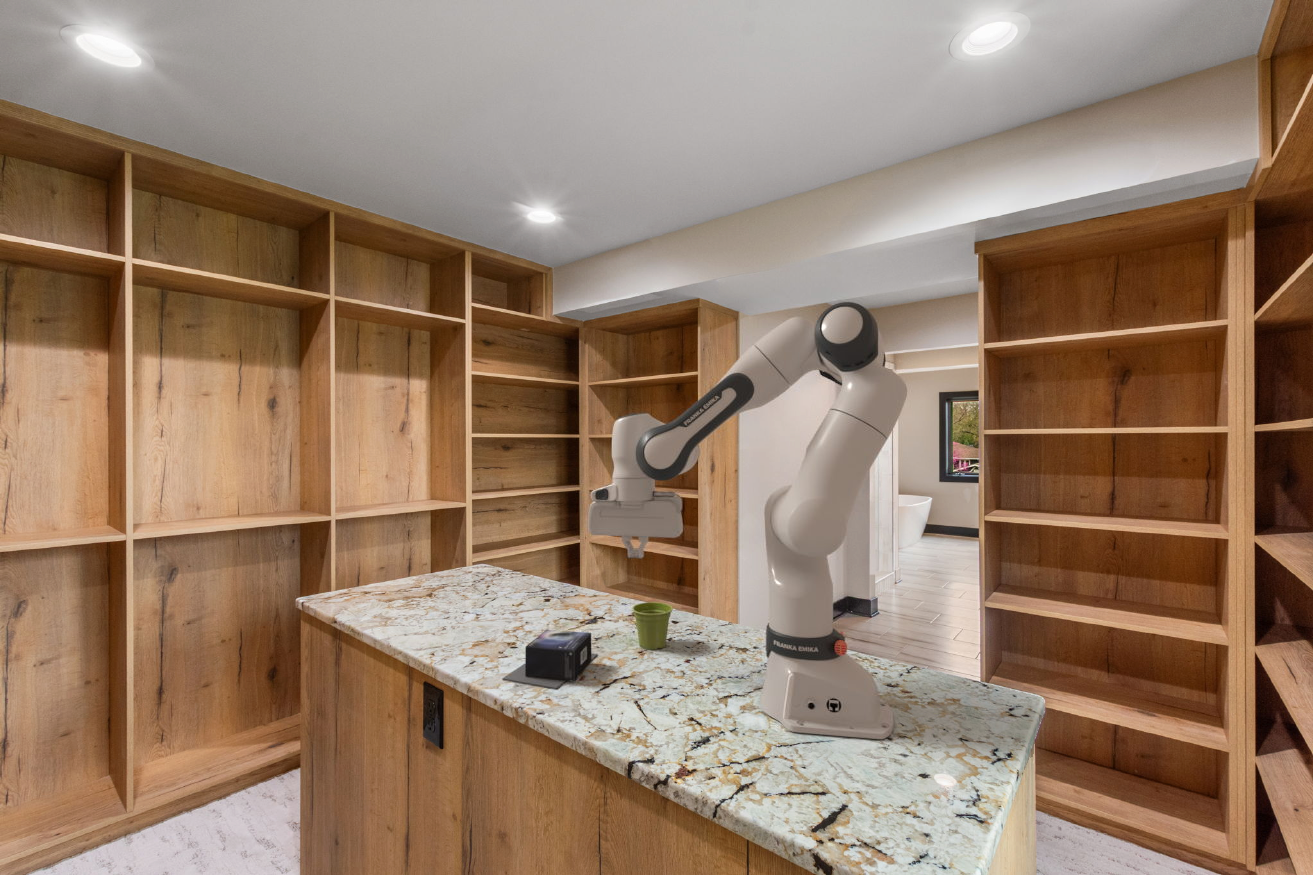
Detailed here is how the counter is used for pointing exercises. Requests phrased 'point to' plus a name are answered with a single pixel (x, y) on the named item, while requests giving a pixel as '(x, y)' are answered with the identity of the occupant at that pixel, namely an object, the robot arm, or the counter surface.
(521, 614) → the counter surface
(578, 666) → the small box
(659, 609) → the plant pot
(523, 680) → the mat
